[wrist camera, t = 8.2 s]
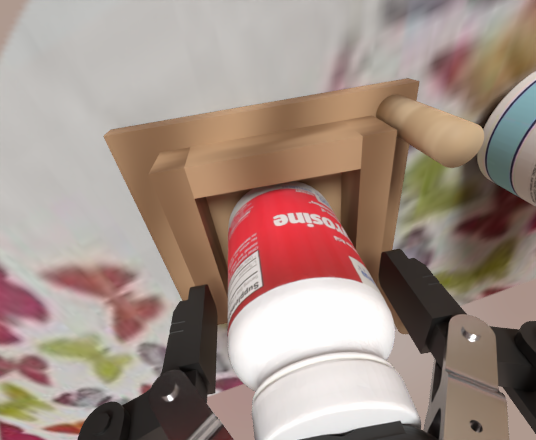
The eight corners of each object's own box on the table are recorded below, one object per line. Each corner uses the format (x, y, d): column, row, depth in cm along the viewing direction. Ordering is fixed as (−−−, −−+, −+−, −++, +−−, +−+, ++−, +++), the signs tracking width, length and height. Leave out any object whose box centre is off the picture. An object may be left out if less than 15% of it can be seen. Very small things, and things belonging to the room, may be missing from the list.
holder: (408, 78, 14) (506, 104, 9) (382, 264, 21) (428, 333, 17) (110, 129, 14) (45, 185, 9) (189, 300, 21) (177, 382, 16)
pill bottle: (349, 206, 17) (494, 413, 8) (290, 272, 19) (346, 487, 10) (264, 155, 14) (328, 371, 5) (208, 238, 17) (187, 481, 8)
